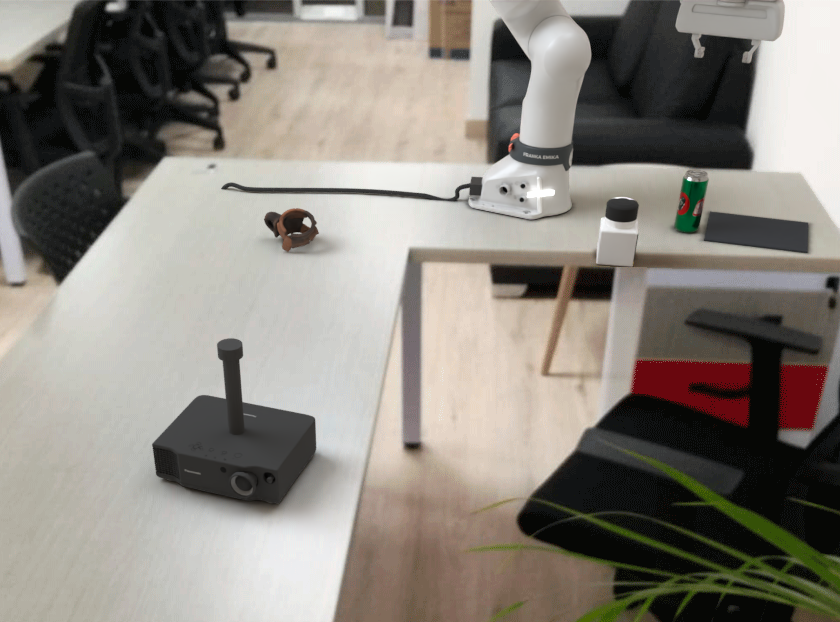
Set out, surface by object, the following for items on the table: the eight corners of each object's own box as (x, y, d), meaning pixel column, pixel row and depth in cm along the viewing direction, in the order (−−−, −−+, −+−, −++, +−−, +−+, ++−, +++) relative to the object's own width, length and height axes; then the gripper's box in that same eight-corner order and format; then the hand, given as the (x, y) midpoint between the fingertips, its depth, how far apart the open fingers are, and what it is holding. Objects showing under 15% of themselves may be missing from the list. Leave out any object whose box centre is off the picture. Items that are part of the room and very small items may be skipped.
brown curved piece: (324, 237, 225) (326, 212, 218) (306, 271, 221) (308, 247, 214) (271, 217, 226) (271, 191, 219) (253, 251, 222) (253, 226, 215)
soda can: (694, 235, 223) (705, 178, 216) (670, 230, 225) (680, 174, 218) (701, 227, 226) (713, 171, 219) (678, 222, 228) (688, 166, 221)
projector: (149, 488, 152) (131, 363, 140) (202, 428, 165) (190, 309, 153) (273, 516, 147) (265, 389, 135) (318, 452, 159) (315, 330, 147)
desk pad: (703, 240, 221) (704, 239, 221) (710, 212, 233) (710, 211, 233) (807, 253, 215) (807, 251, 215) (808, 223, 227) (808, 222, 227)
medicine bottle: (633, 267, 210) (642, 208, 203) (596, 264, 212) (604, 205, 204) (632, 253, 216) (641, 194, 209) (596, 250, 217) (604, 192, 210)
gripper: (678, -17, 210) (666, 57, 218) (786, -8, 202) (770, 69, 210) (686, -23, 215) (674, 50, 223) (793, -14, 206) (777, 61, 215)
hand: (722, 59), depth 216 cm, fingers open, 8 cm apart
